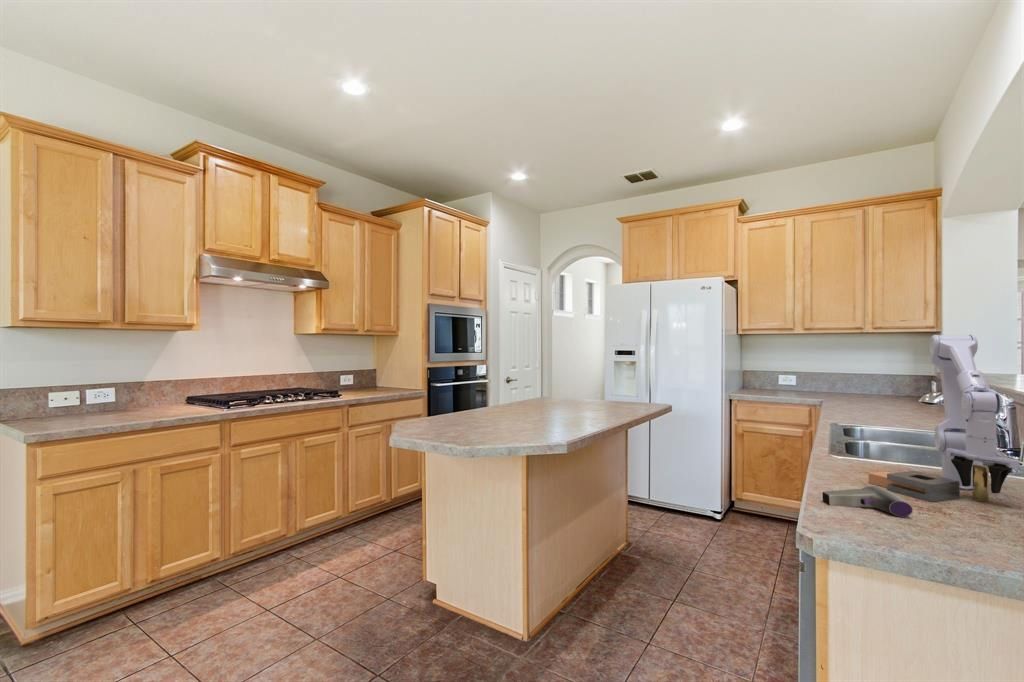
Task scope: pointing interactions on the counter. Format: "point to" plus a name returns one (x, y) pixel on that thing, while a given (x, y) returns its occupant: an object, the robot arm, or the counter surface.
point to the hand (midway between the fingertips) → (980, 489)
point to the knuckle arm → (888, 481)
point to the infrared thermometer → (869, 500)
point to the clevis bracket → (925, 486)
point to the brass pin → (980, 483)
